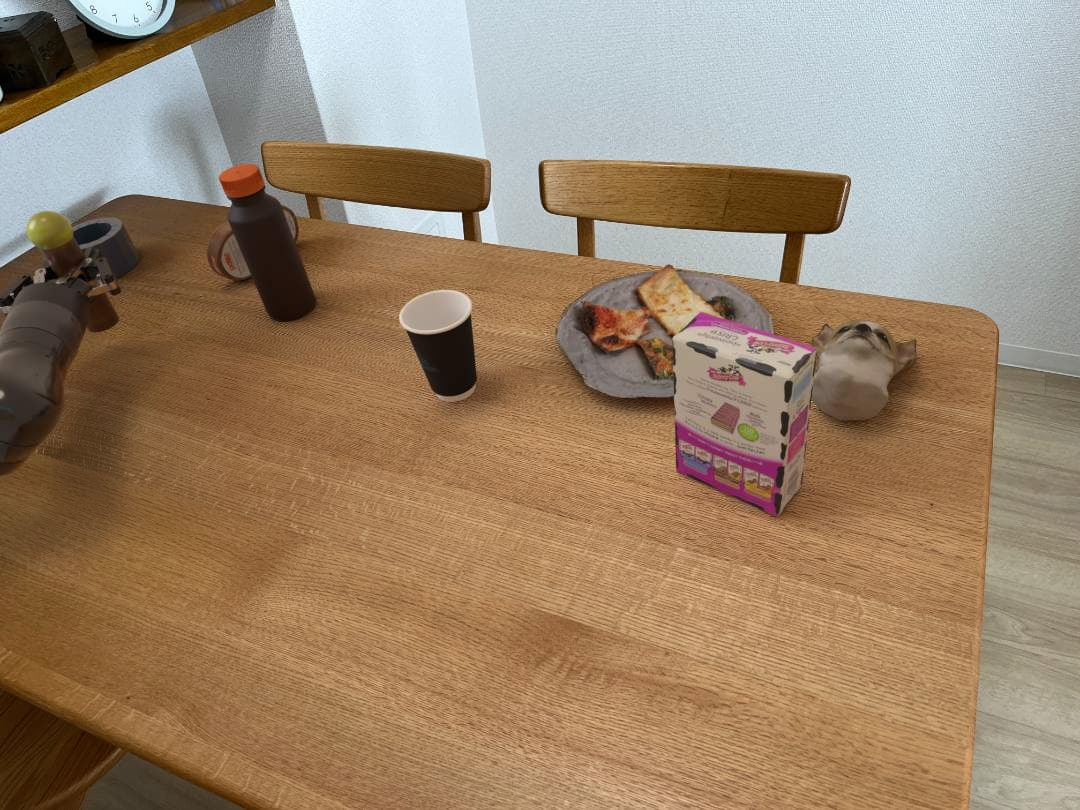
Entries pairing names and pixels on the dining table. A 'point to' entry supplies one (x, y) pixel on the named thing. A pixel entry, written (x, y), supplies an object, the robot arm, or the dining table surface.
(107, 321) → the ball peg
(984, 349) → the dining table surface
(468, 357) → the dixie cup
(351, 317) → the dining table surface
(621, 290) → the food plate
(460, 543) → the dining table surface
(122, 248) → the tube
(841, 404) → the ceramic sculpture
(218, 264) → the tin
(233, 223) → the bottle
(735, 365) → the candy bar box
